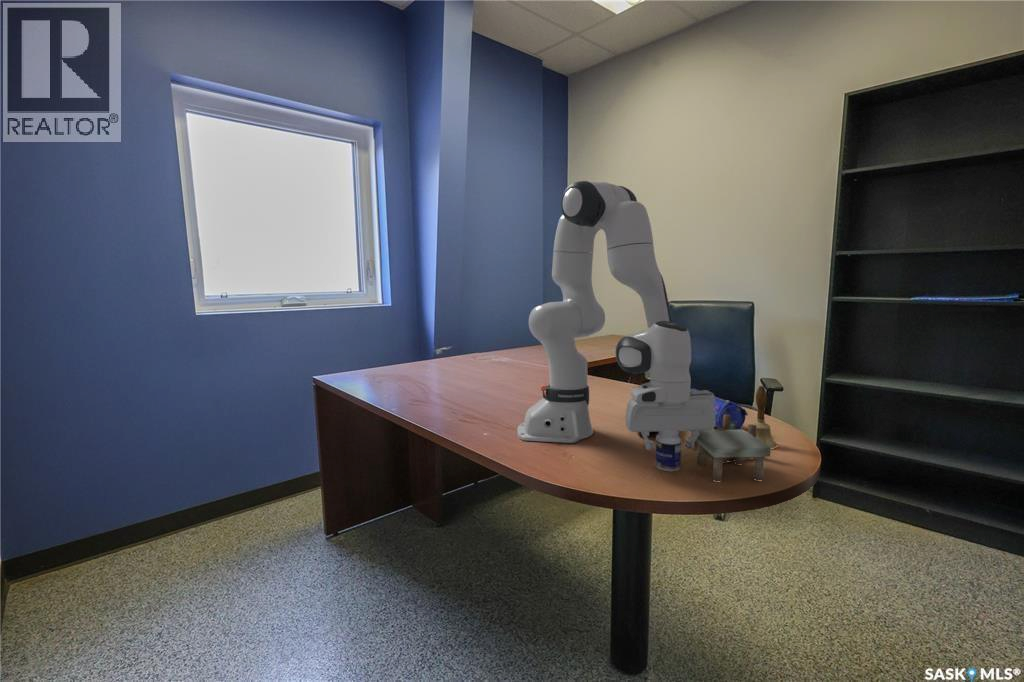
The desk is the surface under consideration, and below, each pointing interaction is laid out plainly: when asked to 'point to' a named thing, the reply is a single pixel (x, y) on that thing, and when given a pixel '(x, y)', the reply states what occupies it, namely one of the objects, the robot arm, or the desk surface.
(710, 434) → the small table
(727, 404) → the pencil case
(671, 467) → the pill bottle
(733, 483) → the desk surface
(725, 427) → the upturned stool
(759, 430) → the hand bell
